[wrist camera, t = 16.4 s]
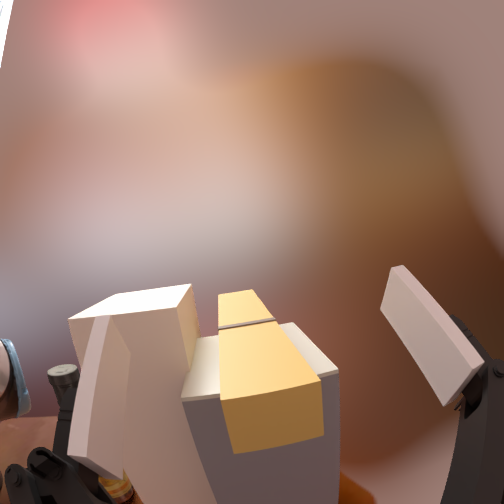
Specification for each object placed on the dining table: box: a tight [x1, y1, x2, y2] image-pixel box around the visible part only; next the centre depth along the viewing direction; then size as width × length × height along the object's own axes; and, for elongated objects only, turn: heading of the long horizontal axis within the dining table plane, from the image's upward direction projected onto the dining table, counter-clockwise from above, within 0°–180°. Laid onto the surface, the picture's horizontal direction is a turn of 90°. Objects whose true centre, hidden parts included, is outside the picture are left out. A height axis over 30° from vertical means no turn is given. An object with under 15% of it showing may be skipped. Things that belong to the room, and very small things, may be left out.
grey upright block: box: [181, 322, 340, 504], centre depth 23 cm, size 12×10×22 cm
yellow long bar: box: [218, 290, 324, 454], centre depth 22 cm, size 24×4×3 cm, turn 6°
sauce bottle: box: [47, 364, 133, 504], centre depth 26 cm, size 7×6×20 cm
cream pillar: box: [68, 284, 217, 504], centre depth 26 cm, size 12×9×27 cm
